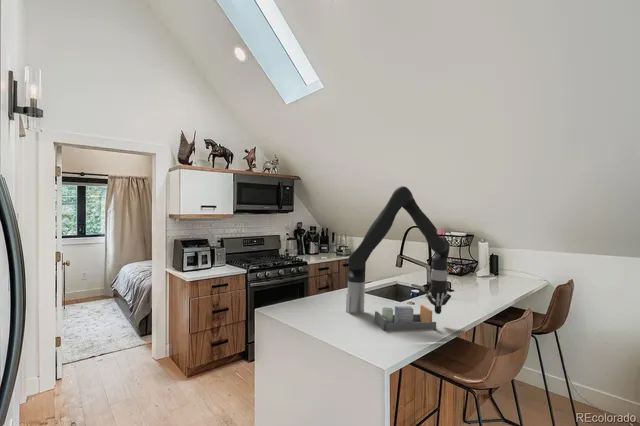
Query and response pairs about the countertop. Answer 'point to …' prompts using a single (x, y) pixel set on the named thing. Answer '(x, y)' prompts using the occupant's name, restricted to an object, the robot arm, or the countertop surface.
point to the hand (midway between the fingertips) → (437, 313)
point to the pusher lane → (403, 326)
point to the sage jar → (388, 314)
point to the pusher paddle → (425, 314)
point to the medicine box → (403, 314)
